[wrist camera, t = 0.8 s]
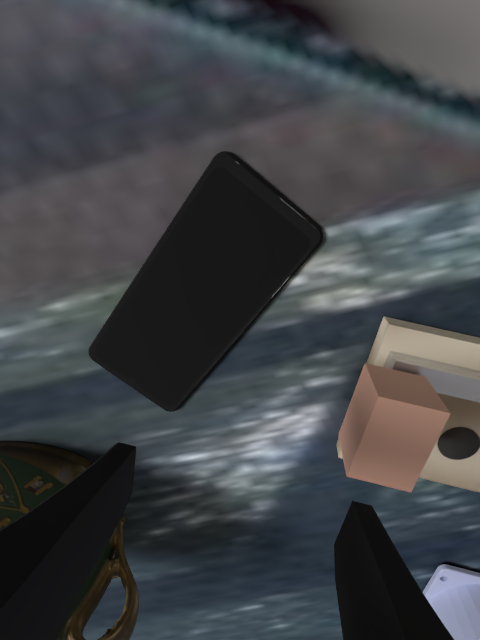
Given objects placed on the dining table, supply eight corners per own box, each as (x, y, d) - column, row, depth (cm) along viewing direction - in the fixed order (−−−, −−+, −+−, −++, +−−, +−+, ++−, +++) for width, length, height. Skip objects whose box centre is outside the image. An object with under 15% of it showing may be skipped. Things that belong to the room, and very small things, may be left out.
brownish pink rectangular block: (386, 436, 20) (408, 496, 16) (334, 424, 21) (344, 480, 17) (417, 365, 19) (451, 413, 15) (360, 352, 19) (378, 396, 15)
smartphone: (329, 234, 18) (172, 417, 23) (328, 232, 19) (175, 409, 24) (220, 143, 17) (82, 355, 22) (223, 145, 18) (89, 349, 23)
